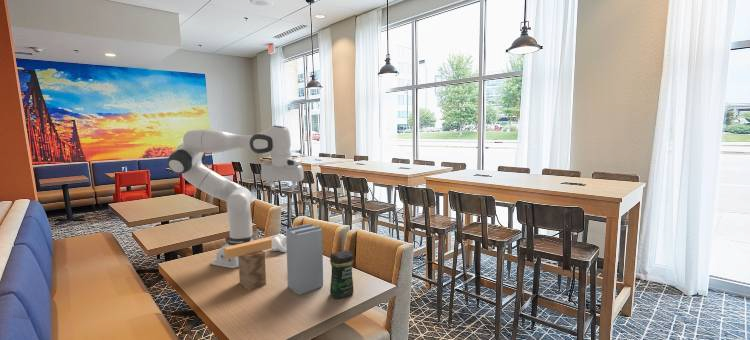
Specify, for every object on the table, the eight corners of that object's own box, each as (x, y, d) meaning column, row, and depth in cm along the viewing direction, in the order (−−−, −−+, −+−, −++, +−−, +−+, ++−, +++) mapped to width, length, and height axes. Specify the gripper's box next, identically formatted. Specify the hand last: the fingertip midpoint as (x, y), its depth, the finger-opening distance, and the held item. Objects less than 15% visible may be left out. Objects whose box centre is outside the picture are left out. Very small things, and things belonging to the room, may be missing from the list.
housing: (299, 294, 146) (297, 232, 143) (287, 286, 154) (286, 227, 151) (323, 286, 155) (322, 227, 152) (311, 279, 162) (309, 222, 159)
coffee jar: (337, 301, 141) (336, 257, 139) (327, 293, 147) (326, 251, 145) (356, 294, 147) (356, 251, 145) (346, 287, 153) (346, 246, 151)
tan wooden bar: (227, 258, 147) (227, 249, 146) (224, 256, 150) (223, 247, 149) (271, 248, 160) (271, 239, 160) (267, 246, 163) (267, 237, 163)
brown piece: (248, 289, 151) (247, 256, 149) (239, 282, 158) (238, 250, 157) (266, 284, 156) (264, 252, 155) (256, 277, 164) (255, 246, 162)
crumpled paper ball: (265, 252, 198) (265, 236, 197) (280, 245, 209) (279, 231, 208) (280, 255, 193) (280, 239, 192) (294, 248, 204) (294, 234, 203)
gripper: (257, 161, 159) (258, 191, 161) (299, 161, 155) (300, 192, 157) (264, 160, 165) (265, 188, 167) (304, 160, 161) (305, 189, 163)
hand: (282, 190), depth 162 cm, fingers open, 8 cm apart
